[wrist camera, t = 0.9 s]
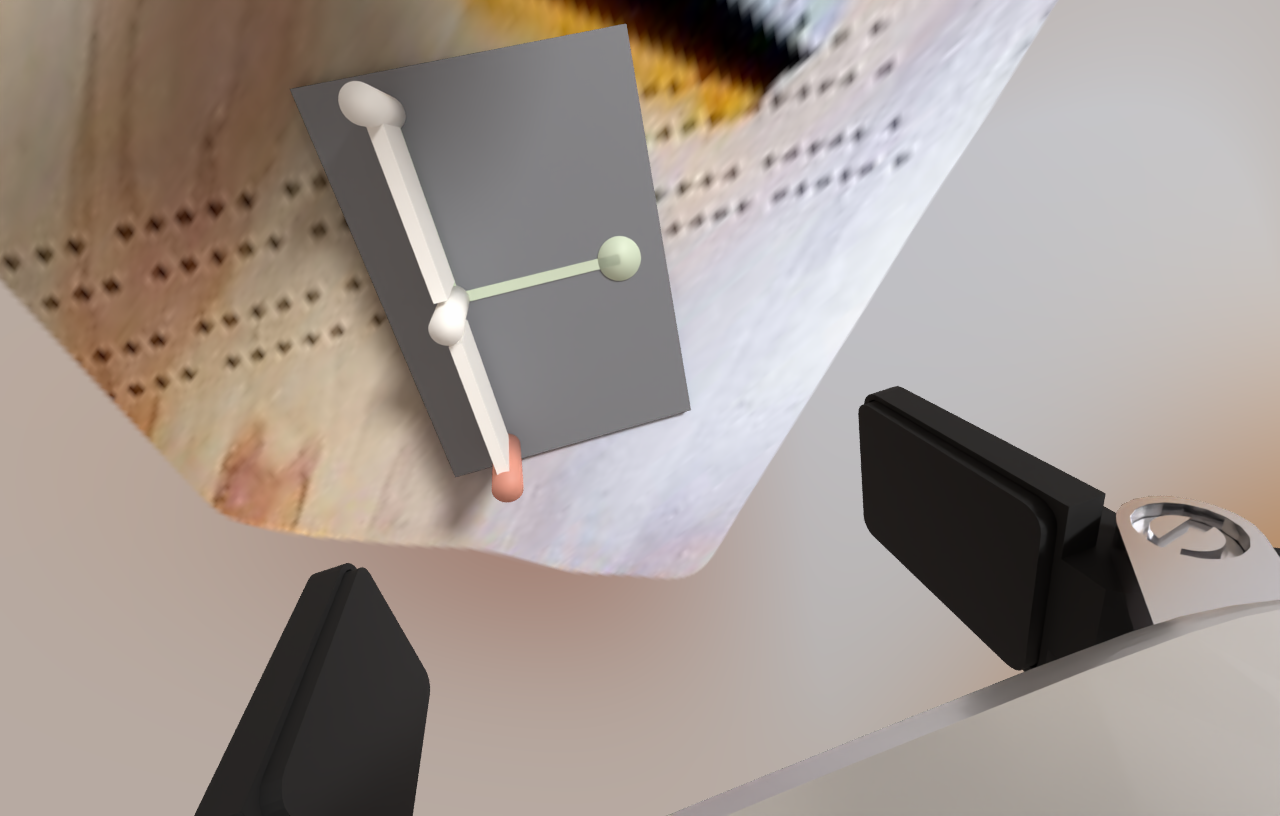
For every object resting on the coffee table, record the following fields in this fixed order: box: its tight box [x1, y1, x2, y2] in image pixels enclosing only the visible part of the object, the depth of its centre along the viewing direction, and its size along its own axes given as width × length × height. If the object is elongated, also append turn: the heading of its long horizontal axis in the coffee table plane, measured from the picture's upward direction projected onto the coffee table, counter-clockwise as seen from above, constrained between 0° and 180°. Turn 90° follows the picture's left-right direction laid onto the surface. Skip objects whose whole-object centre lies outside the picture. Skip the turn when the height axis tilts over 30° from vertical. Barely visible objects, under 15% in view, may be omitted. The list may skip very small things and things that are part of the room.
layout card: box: [290, 24, 691, 477], centre depth 37 cm, size 26×19×1 cm
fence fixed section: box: [338, 81, 470, 346], centre depth 30 cm, size 13×2×7 cm, turn 12°
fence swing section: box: [449, 320, 523, 502], centre depth 36 cm, size 11×2×6 cm, turn 12°
